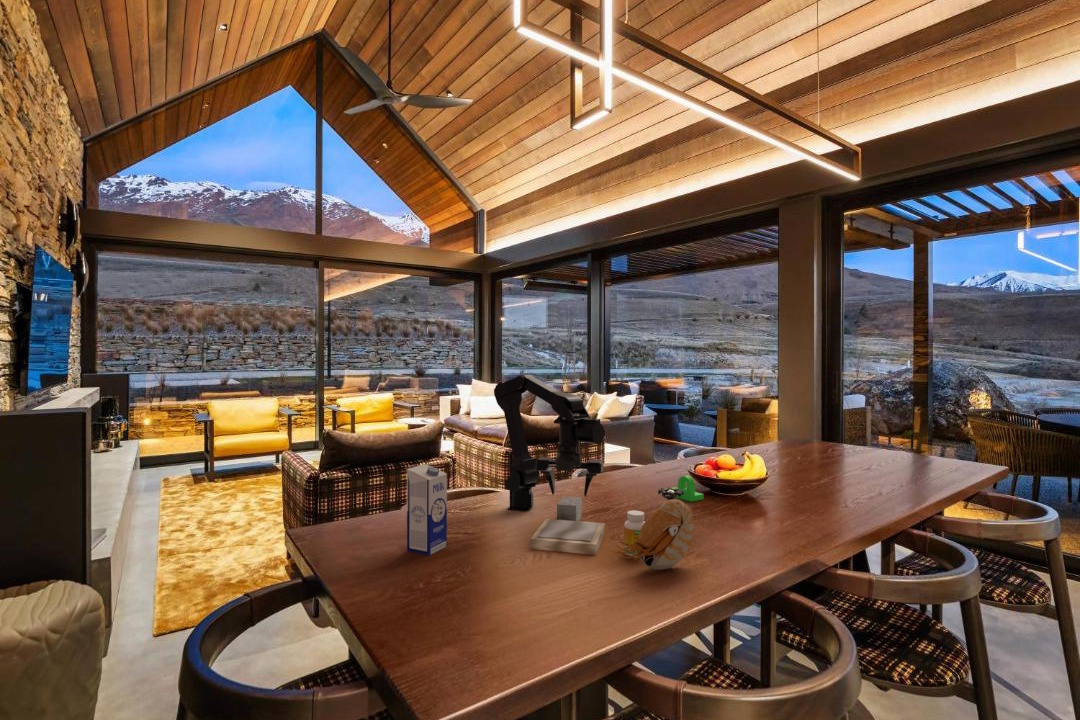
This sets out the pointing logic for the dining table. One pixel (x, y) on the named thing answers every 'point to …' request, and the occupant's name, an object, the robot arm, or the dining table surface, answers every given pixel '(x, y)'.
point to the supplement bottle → (633, 529)
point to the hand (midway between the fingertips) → (569, 495)
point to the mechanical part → (688, 489)
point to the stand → (568, 536)
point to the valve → (671, 493)
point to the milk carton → (426, 510)
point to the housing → (569, 508)
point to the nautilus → (664, 536)
